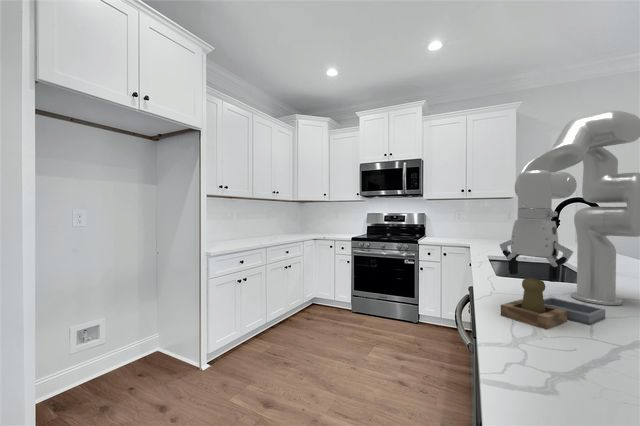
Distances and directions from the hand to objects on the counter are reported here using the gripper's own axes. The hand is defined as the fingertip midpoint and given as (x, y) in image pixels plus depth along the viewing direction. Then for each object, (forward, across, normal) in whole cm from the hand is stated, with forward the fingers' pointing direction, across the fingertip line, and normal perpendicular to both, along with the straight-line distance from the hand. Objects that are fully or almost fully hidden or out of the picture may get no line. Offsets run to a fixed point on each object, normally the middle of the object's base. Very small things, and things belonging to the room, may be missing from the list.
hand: (532, 277), depth 80 cm
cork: (+12, 0, -1) cm, 12 cm away
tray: (+11, -3, -14) cm, 18 cm away
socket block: (+11, 0, -1) cm, 11 cm away
